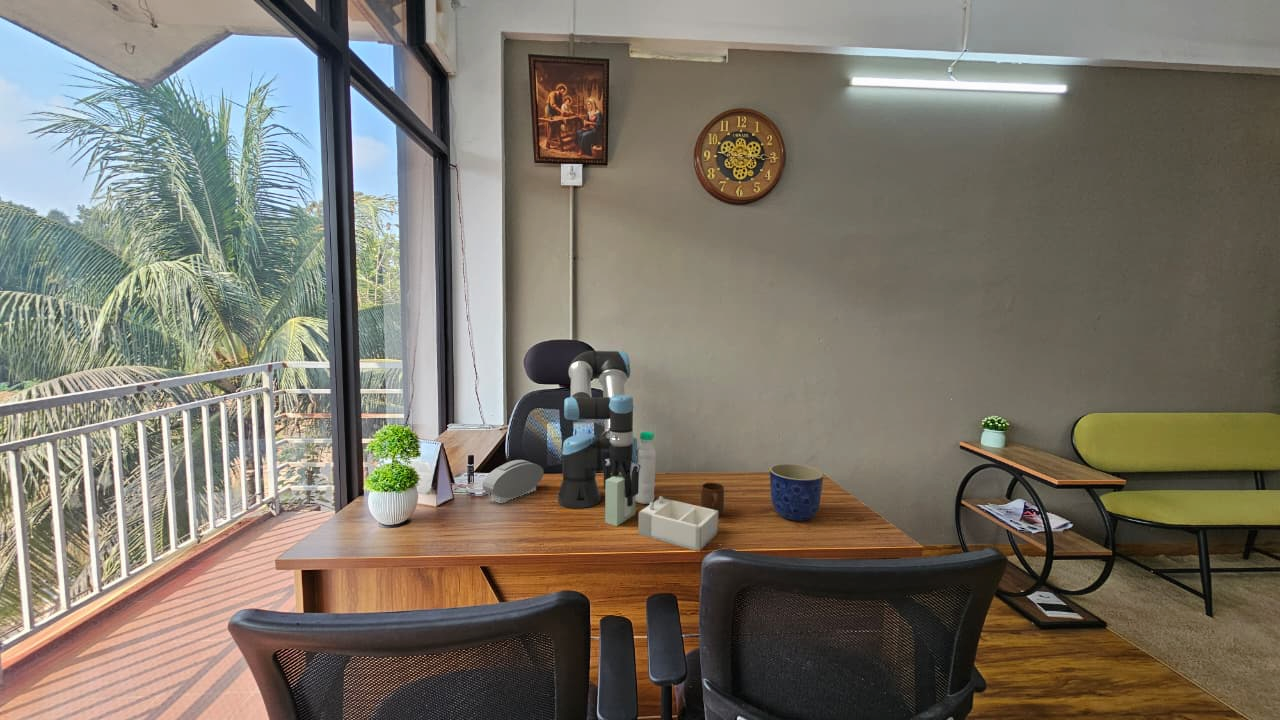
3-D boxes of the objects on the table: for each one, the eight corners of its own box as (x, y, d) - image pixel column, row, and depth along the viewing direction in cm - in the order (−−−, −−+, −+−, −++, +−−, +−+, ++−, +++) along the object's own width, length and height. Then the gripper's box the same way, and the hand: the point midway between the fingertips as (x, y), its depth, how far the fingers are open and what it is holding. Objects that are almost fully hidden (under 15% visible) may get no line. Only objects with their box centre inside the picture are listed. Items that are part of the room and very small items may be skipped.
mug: (727, 523, 151) (728, 495, 150) (704, 523, 151) (704, 495, 150) (721, 509, 163) (722, 482, 162) (699, 508, 163) (699, 482, 162)
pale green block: (605, 522, 151) (605, 480, 150) (623, 511, 160) (624, 470, 159) (617, 526, 149) (617, 482, 147) (635, 514, 158) (635, 473, 157)
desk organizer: (638, 534, 143) (638, 505, 142) (660, 518, 155) (660, 491, 154) (699, 551, 133) (700, 520, 132) (717, 532, 145) (718, 504, 144)
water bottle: (656, 498, 172) (659, 431, 169) (650, 505, 165) (653, 435, 163) (638, 495, 174) (640, 429, 172) (631, 502, 167) (634, 433, 165)
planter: (759, 515, 158) (760, 471, 156) (782, 501, 170) (783, 460, 169) (808, 531, 146) (810, 483, 145) (829, 515, 159) (831, 471, 157)
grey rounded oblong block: (532, 485, 185) (532, 453, 184) (543, 488, 181) (543, 456, 180) (482, 503, 166) (481, 467, 165) (493, 507, 162) (492, 471, 161)
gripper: (592, 442, 154) (592, 511, 156) (638, 450, 145) (637, 523, 147) (605, 437, 160) (605, 504, 162) (650, 444, 151) (649, 515, 153)
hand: (620, 513), depth 154 cm, fingers closed on pale green block, 4 cm apart
